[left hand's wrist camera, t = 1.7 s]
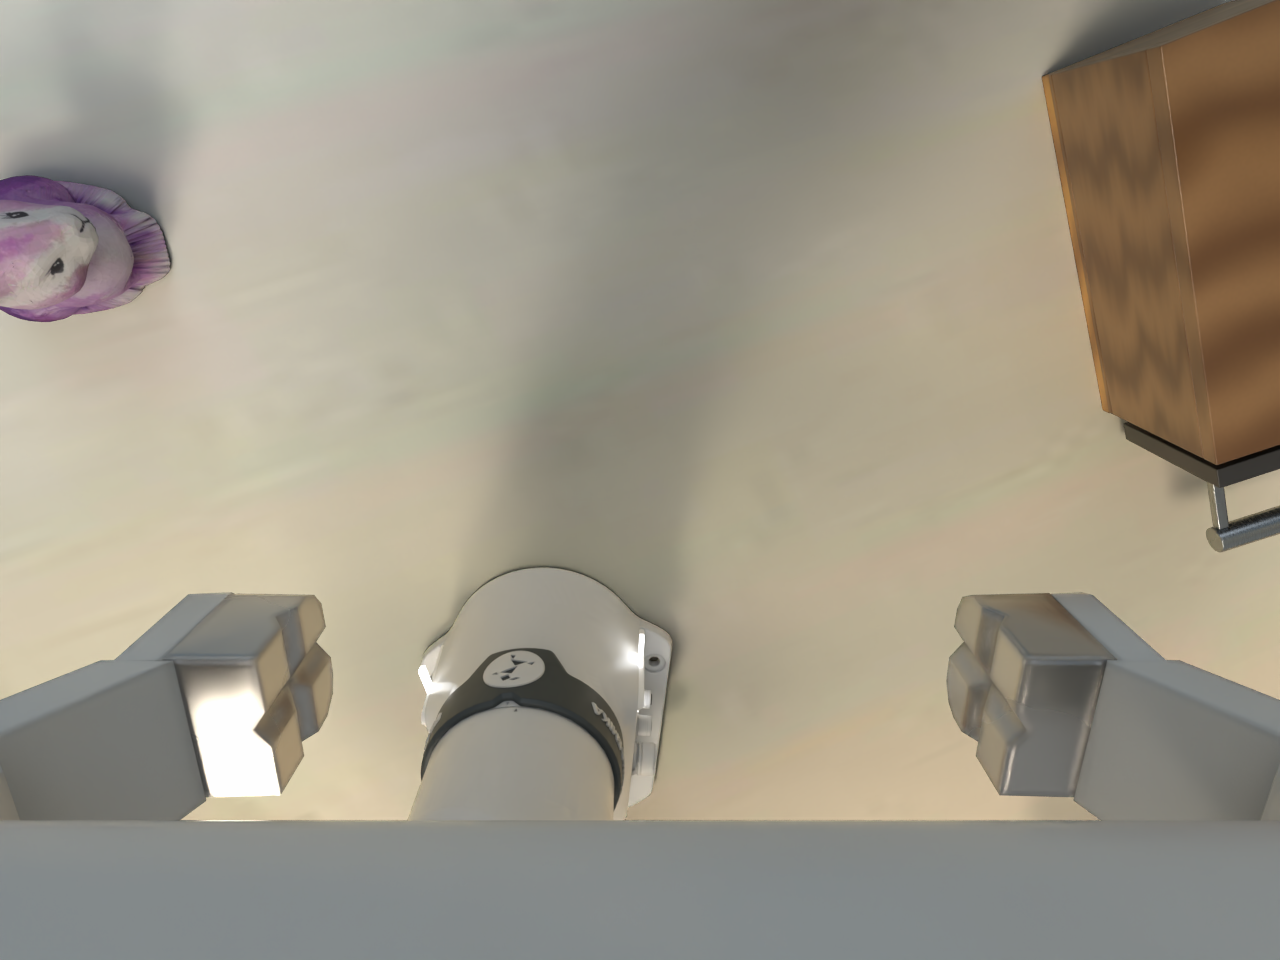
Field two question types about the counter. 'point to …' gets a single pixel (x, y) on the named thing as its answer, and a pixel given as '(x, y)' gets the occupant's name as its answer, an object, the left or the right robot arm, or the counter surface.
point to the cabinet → (1180, 224)
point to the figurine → (73, 249)
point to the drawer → (1220, 487)
